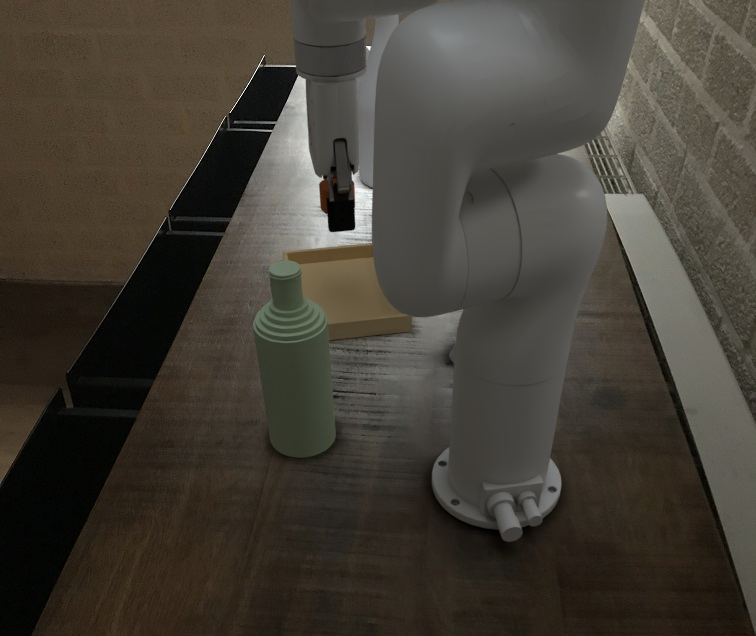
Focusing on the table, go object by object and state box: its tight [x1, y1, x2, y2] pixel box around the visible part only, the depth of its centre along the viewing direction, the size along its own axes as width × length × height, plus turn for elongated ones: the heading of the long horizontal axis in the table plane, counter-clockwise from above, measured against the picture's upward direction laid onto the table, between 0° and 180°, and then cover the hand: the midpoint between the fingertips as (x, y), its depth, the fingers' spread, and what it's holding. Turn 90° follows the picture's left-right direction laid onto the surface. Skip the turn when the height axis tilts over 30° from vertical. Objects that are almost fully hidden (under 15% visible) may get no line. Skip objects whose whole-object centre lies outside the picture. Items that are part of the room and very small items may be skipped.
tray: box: [282, 242, 413, 341], centre depth 103 cm, size 19×14×2 cm
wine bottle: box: [357, 15, 400, 188], centre depth 119 cm, size 10×10×30 cm
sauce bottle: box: [252, 259, 337, 459], centre depth 78 cm, size 7×7×20 cm
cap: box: [318, 178, 356, 214], centre depth 95 cm, size 4×4×3 cm
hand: (339, 219), depth 97 cm, fingers closed on cap, 4 cm apart
